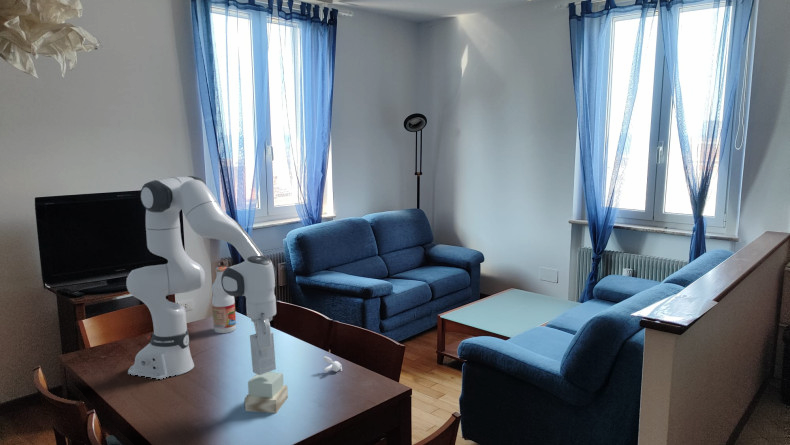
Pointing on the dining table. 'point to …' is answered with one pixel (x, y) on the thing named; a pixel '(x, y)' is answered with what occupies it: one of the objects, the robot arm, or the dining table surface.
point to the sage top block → (265, 384)
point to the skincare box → (259, 362)
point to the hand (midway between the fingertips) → (263, 352)
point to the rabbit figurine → (334, 365)
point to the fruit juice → (222, 306)
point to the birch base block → (266, 402)
